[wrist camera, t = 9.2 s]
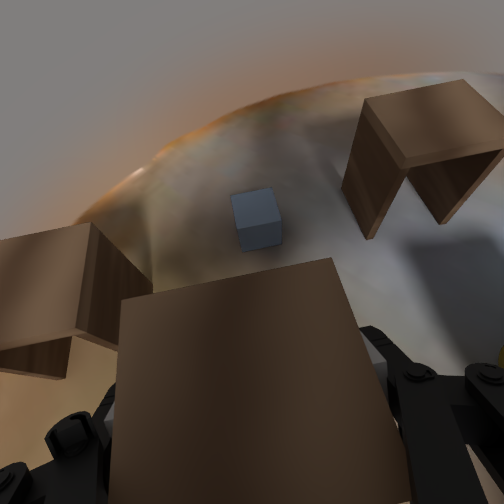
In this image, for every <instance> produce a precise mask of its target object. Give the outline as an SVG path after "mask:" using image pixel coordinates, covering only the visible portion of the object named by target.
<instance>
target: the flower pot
mask: <svg viewBox="0 0 504 504" xmlns="http://www.w3.org/2000/svg"><path fill="white" fill-rule="evenodd" d="M498 365H499V367H501V368H504V346H503V347H502V349H501V351H500V353H499V358H498Z"/></svg>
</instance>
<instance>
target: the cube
mask: <svg viewBox="0 0 504 504" xmlns="http://www.w3.org/2000/svg"><path fill="white" fill-rule="evenodd" d="M231 201H232V207H233V212H234V217H235V222H236V228H237V232H238V236H239V241H240V245H241V249H242V252H246V251H250V250H255V249H260V248H265V247H270V246H275V245H280V244H282V219H281V216H280V212H279V209H278V206H277V203H276V199H275V196H274V193H273V189H272V187H270V188H266V189H261V190H256V191H251V192H246V193H241V194H236V195H231Z"/></svg>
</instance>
